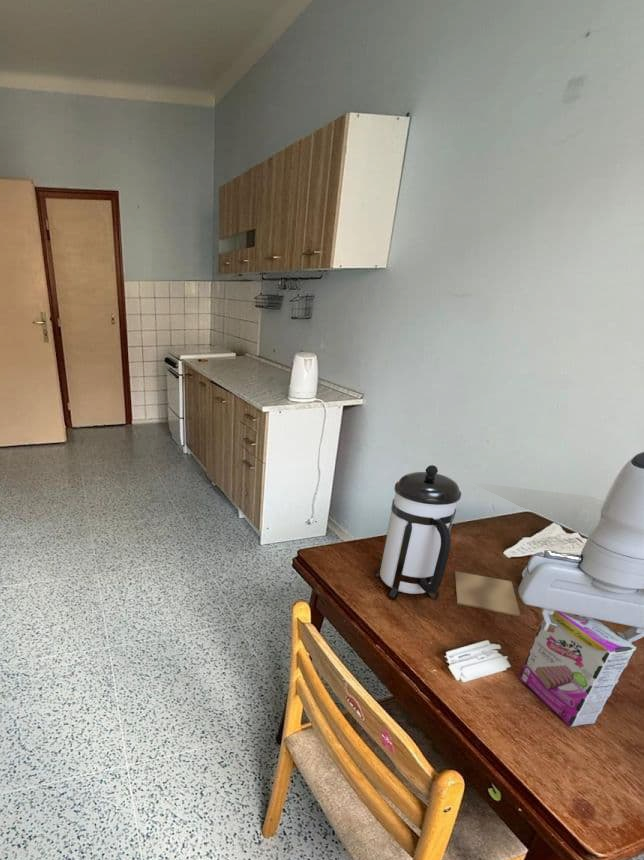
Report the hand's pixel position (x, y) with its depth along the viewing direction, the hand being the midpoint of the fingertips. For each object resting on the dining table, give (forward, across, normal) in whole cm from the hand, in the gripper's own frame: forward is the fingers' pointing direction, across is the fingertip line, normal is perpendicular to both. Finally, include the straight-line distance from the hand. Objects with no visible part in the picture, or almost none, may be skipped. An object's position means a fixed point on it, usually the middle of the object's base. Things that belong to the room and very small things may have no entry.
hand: (582, 637), depth 74 cm
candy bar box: (+14, 0, 0) cm, 14 cm away
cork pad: (+14, -8, +31) cm, 35 cm away
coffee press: (+14, -24, +26) cm, 38 cm away
